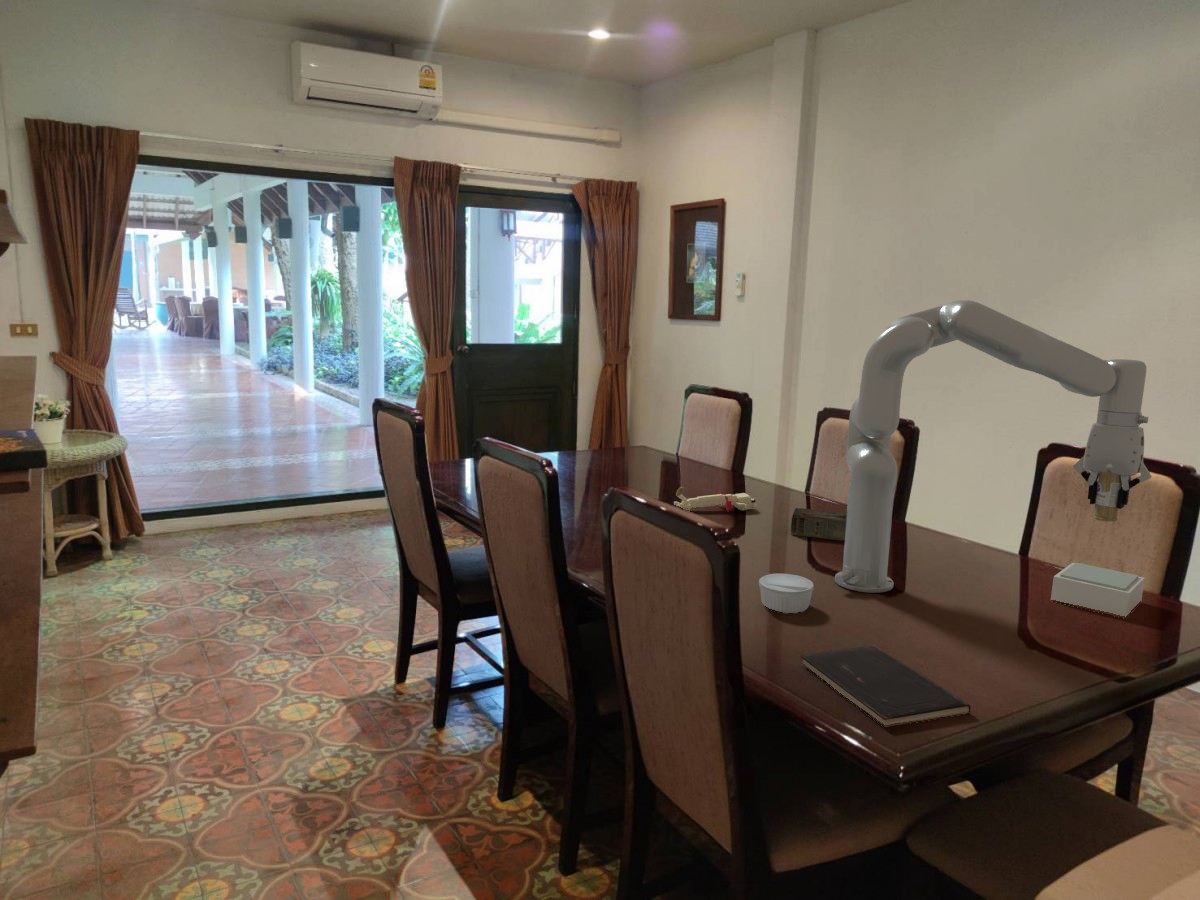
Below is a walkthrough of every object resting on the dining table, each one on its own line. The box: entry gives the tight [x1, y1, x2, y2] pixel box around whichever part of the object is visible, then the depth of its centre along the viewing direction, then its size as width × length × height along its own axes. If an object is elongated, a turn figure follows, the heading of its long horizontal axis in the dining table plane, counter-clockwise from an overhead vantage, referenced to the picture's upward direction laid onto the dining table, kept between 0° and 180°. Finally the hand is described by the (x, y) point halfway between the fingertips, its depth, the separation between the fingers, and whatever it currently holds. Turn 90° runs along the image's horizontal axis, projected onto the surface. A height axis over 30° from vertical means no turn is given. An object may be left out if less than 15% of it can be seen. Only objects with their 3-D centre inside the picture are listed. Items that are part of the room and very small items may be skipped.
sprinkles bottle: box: [1092, 464, 1122, 523], centre depth 174 cm, size 5×5×14 cm
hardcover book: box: [799, 644, 971, 725], centre depth 136 cm, size 16×23×2 cm
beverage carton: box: [790, 507, 847, 542], centre depth 225 cm, size 8×19×7 cm, turn 71°
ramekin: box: [758, 572, 815, 614], centre depth 172 cm, size 11×11×5 cm
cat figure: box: [673, 486, 758, 513], centre depth 249 cm, size 10×9×25 cm
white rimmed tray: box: [1050, 562, 1145, 617], centre depth 178 cm, size 14×14×6 cm
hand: (1106, 504), depth 175 cm, fingers closed on sprinkles bottle, 4 cm apart
